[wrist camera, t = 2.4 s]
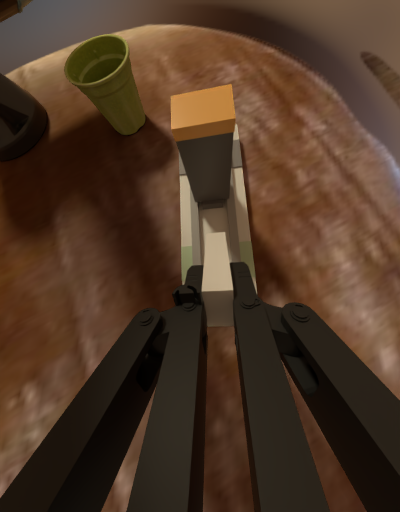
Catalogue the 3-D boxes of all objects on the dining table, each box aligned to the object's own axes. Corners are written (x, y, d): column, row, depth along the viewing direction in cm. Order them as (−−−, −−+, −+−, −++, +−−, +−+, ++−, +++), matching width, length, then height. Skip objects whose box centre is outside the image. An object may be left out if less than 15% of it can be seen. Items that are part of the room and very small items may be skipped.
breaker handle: (229, 206, 22) (235, 123, 11) (196, 210, 22) (171, 134, 12) (227, 180, 23) (230, 79, 12) (195, 184, 23) (170, 91, 12)
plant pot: (108, 108, 32) (67, 43, 24) (154, 97, 31) (128, 25, 23) (106, 147, 30) (60, 91, 22) (155, 137, 29) (127, 74, 21)
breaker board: (255, 302, 21) (261, 304, 18) (186, 304, 22) (179, 307, 19) (236, 136, 27) (237, 113, 23) (181, 145, 28) (176, 124, 24)
